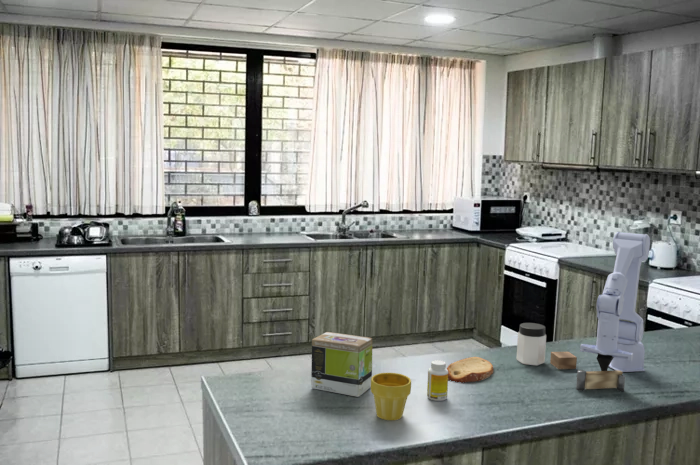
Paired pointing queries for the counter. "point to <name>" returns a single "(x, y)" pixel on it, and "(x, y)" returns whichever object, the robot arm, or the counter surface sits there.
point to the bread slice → (470, 370)
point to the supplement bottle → (437, 381)
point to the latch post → (620, 383)
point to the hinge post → (581, 380)
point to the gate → (602, 379)
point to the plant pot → (390, 394)
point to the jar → (531, 344)
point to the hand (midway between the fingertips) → (603, 379)
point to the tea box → (341, 363)
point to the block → (563, 360)
